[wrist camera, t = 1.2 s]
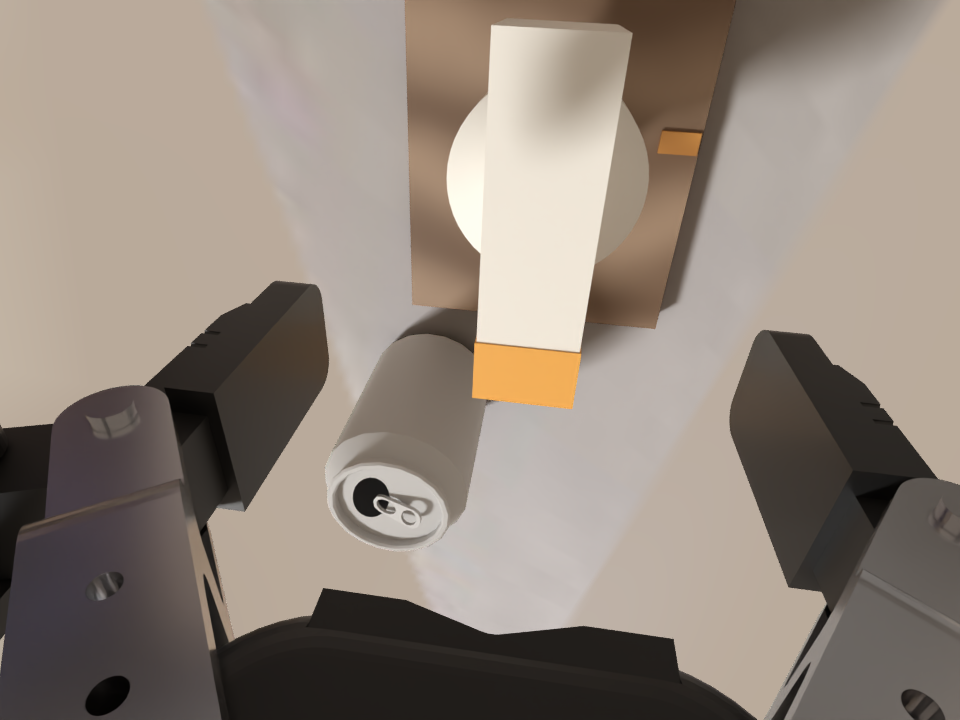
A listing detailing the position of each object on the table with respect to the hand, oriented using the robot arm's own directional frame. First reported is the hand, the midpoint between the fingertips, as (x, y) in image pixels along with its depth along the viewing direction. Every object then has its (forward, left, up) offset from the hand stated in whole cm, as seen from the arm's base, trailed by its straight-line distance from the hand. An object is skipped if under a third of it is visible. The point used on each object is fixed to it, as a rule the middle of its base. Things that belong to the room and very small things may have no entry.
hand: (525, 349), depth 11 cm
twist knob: (0, 0, -13) cm, 13 cm away
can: (+16, -6, -22) cm, 27 cm away
